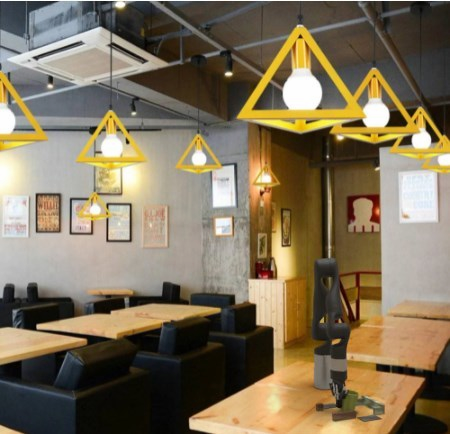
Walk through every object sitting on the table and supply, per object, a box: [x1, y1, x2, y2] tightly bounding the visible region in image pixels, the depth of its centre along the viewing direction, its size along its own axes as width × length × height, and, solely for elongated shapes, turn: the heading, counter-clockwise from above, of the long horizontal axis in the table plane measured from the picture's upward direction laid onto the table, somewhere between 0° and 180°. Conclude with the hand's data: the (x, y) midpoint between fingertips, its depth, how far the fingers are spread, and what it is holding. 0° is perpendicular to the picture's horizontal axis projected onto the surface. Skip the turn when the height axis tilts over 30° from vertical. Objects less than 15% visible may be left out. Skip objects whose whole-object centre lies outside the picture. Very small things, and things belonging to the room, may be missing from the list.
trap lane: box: [315, 394, 386, 423], centre depth 233 cm, size 25×26×4 cm
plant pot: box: [339, 389, 360, 412], centre depth 232 cm, size 9×9×9 cm
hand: (338, 407), depth 231 cm, fingers closed
